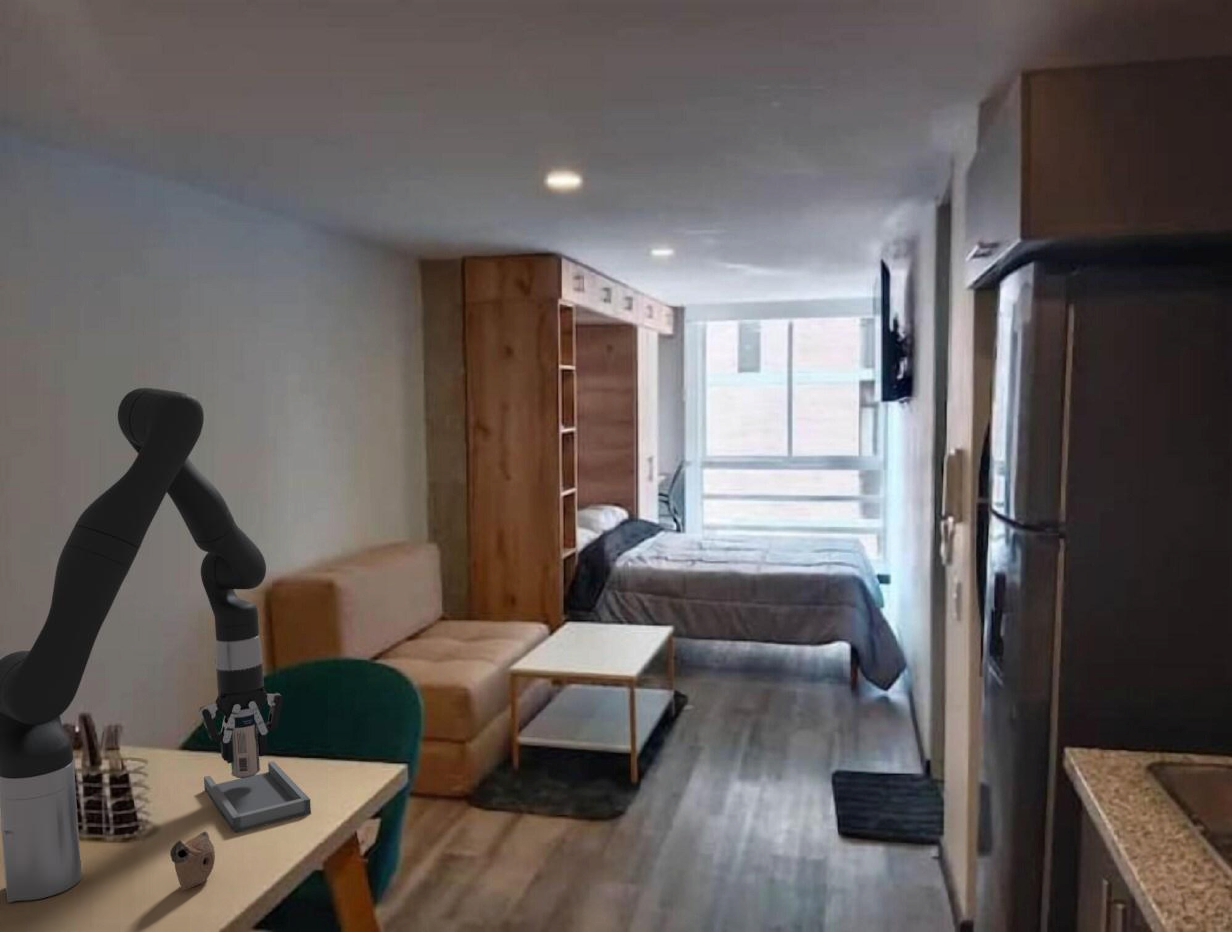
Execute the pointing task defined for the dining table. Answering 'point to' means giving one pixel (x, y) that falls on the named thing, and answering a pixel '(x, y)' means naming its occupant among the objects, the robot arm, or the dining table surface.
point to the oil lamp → (193, 860)
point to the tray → (258, 799)
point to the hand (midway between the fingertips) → (245, 757)
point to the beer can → (245, 745)
